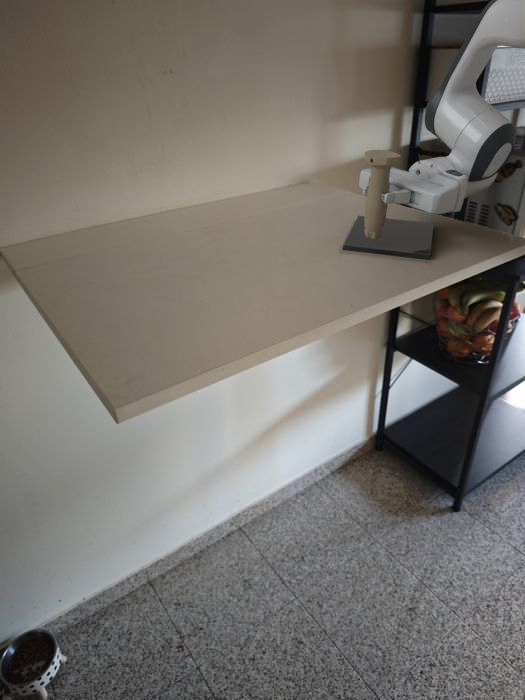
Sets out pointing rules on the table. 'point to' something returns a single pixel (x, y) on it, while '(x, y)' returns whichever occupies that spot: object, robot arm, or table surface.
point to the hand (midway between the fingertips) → (374, 195)
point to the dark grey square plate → (393, 238)
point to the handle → (378, 190)
